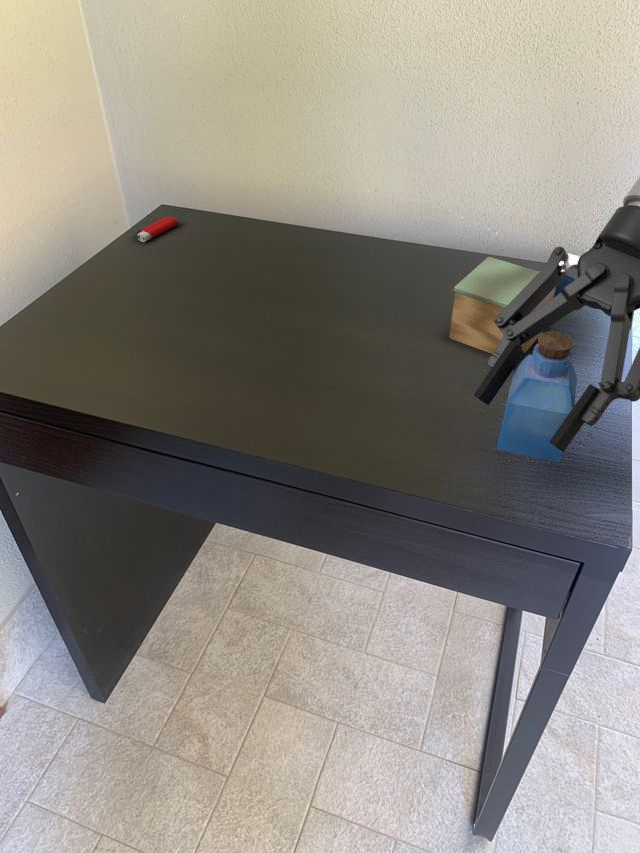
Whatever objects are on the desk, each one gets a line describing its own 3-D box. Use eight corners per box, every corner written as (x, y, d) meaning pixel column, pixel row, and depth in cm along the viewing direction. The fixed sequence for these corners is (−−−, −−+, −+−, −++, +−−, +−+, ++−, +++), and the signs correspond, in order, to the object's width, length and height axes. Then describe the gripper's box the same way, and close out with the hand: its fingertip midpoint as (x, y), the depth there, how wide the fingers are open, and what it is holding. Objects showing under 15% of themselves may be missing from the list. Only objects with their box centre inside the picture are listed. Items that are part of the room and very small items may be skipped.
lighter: (177, 219, 120) (144, 236, 116) (178, 226, 121) (145, 243, 116) (165, 215, 122) (132, 232, 117) (166, 222, 122) (134, 239, 118)
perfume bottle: (559, 462, 69) (589, 365, 61) (496, 449, 70) (518, 352, 62) (563, 424, 73) (591, 329, 65) (504, 412, 74) (525, 318, 67)
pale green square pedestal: (547, 328, 96) (560, 277, 91) (517, 364, 90) (529, 311, 84) (479, 306, 101) (488, 256, 95) (446, 338, 94) (453, 287, 89)
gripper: (771, 282, 61) (620, 489, 64) (570, 208, 74) (451, 383, 77) (769, 245, 55) (603, 474, 58) (550, 171, 68) (422, 362, 71)
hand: (517, 422), depth 68 cm, fingers closed on perfume bottle, 8 cm apart
